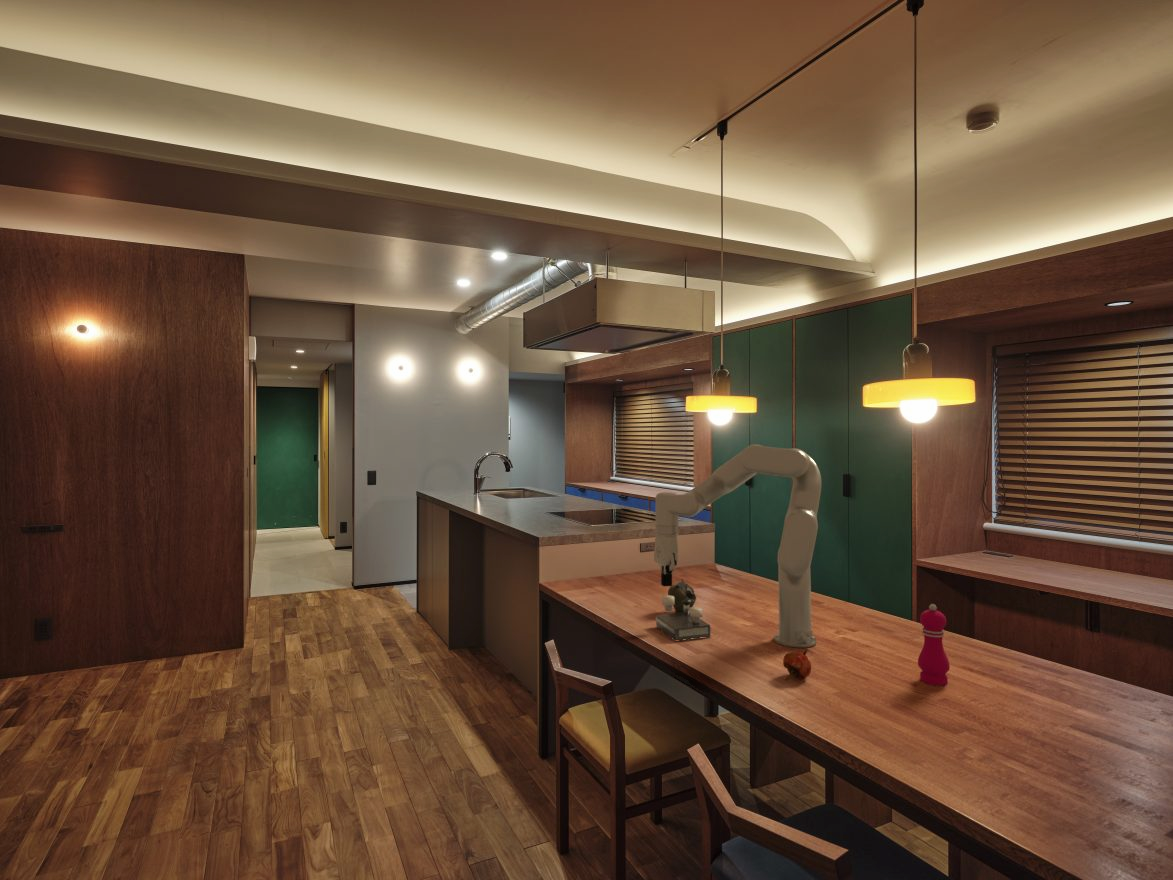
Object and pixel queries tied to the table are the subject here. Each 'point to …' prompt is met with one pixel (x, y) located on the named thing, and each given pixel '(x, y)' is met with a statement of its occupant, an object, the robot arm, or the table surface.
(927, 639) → the pepper mill
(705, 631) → the mount
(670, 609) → the knob
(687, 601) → the dark brown round knob
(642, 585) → the table surface
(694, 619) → the knob
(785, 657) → the red round fruit
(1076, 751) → the table surface
